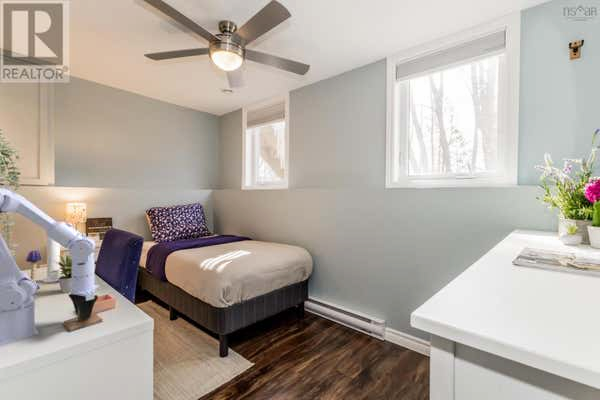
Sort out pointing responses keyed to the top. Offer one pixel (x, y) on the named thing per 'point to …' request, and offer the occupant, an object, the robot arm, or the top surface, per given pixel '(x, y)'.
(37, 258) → the toy lamp
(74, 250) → the robot arm
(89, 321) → the lid
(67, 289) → the house plant
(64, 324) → the mat
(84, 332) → the top surface
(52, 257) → the candle
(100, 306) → the open box
